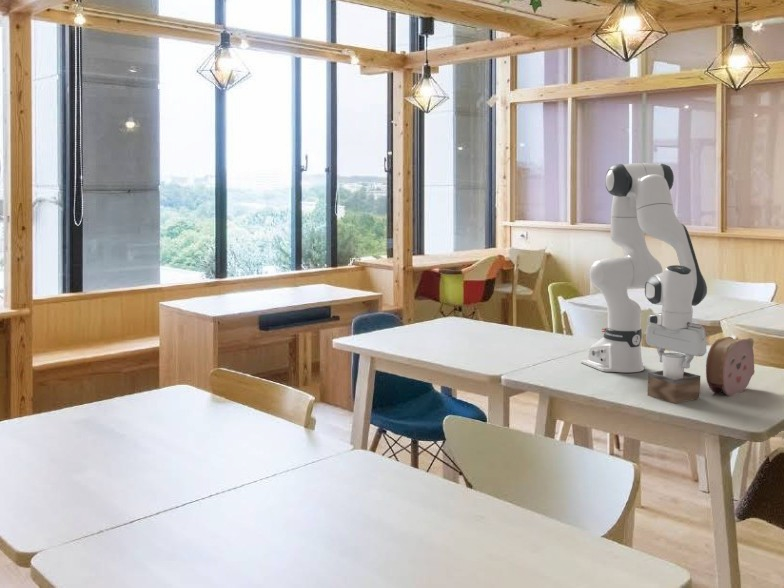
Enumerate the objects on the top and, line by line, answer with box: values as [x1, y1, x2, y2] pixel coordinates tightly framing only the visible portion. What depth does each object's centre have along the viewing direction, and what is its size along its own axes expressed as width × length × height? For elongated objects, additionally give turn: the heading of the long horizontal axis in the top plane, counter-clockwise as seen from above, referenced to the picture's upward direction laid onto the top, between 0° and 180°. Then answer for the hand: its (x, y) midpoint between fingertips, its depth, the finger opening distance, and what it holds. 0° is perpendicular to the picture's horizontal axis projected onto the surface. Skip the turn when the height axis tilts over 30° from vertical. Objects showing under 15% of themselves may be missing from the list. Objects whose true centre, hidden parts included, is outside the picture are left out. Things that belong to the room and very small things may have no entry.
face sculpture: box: [705, 336, 755, 397], centre depth 251 cm, size 20×7×17 cm, turn 132°
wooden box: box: [647, 369, 701, 404], centre depth 245 cm, size 11×11×7 cm
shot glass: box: [662, 352, 687, 379], centre depth 245 cm, size 7×7×7 cm
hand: (674, 365), depth 244 cm, fingers open, 7 cm apart
